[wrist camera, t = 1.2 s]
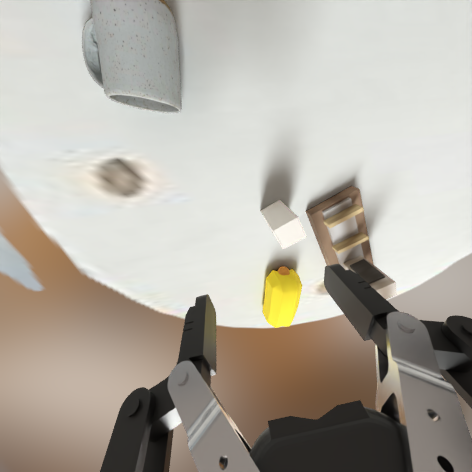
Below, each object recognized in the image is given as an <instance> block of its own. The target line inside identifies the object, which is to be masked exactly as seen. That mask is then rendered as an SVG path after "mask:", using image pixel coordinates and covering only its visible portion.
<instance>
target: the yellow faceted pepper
mask: <svg viewBox="0 0 472 472" xmlns="http://www.w3.org/2000/svg"><path fill="white" fill-rule="evenodd" d="M301 289H302V284H301V281H300V278H299V276H298V274H297V273H296V272H295V271H294V270H293V269H291V270H289V269H288V268H287V267H284V266H282V267H280V268H279V269H278V271H274V270H272V271H271V273H270V274H269V275H268V276H267V278H266V287H265V299H264V305H263V311H262V312H263V314H264V316H265V318H266V320H267V322H268V323H269V324H271V325H272V326H274V327H275V328H277V327H280V326H290V324H291V323H292V321H293V319H294V316H295V313H296V310H297V308H298V304H299V299H300V294H301Z"/></svg>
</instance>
